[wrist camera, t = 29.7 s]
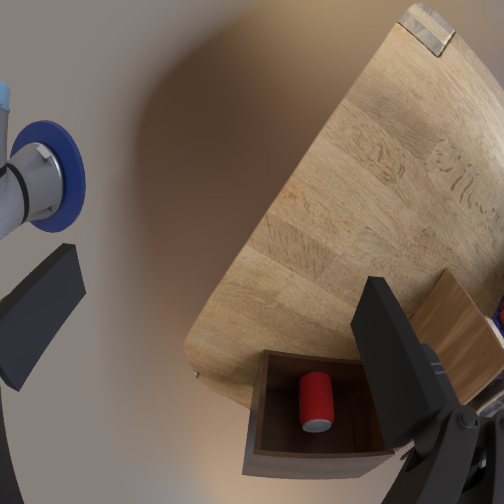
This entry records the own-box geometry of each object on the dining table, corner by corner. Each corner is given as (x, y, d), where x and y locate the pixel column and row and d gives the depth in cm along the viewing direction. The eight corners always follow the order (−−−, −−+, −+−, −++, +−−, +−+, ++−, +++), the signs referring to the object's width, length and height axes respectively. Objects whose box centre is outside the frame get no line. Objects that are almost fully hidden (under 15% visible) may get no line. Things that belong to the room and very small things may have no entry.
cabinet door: (466, 277, 40) (524, 364, 22) (397, 363, 52) (419, 450, 33) (446, 267, 40) (508, 360, 21) (376, 359, 52) (395, 452, 33)
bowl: (504, 377, 56) (519, 410, 43) (439, 409, 63) (450, 447, 50) (525, 323, 45) (549, 362, 32) (449, 363, 52) (468, 412, 39)
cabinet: (264, 349, 53) (253, 454, 33) (376, 361, 52) (395, 454, 33) (253, 387, 60) (241, 474, 40) (351, 396, 59) (359, 477, 40)
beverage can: (292, 381, 56) (291, 430, 45) (310, 365, 52) (312, 416, 42) (318, 389, 57) (320, 435, 46) (337, 373, 53) (342, 422, 43)
